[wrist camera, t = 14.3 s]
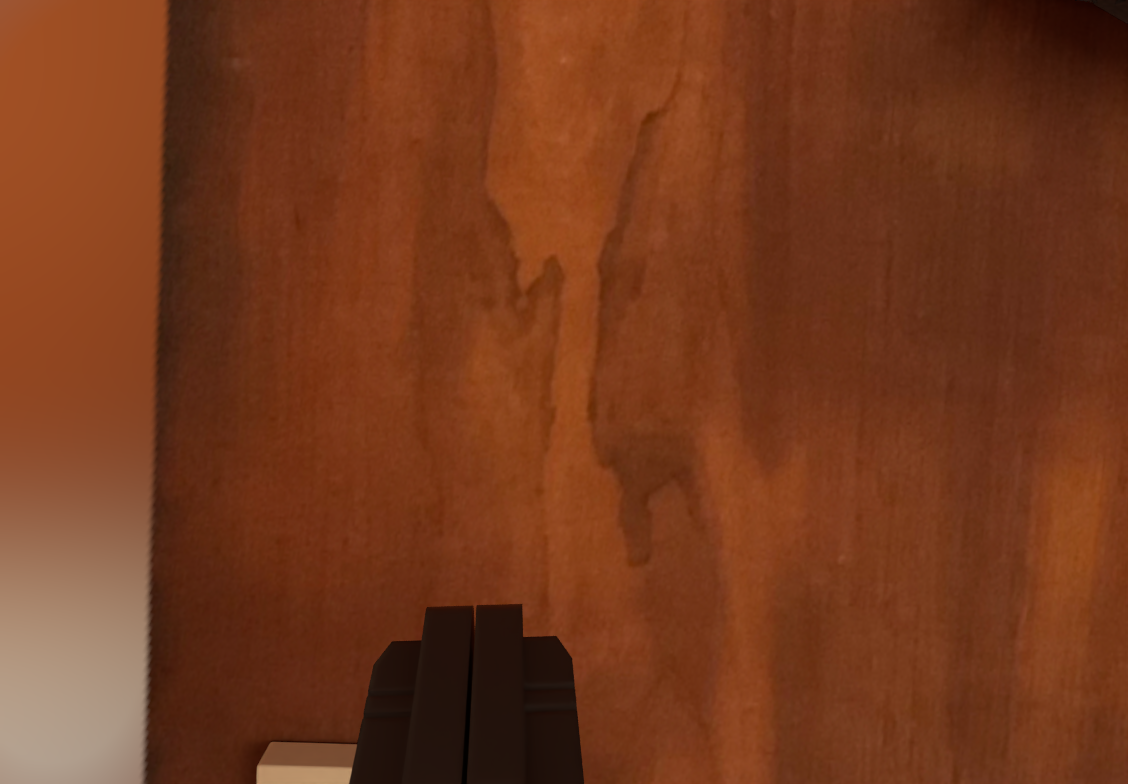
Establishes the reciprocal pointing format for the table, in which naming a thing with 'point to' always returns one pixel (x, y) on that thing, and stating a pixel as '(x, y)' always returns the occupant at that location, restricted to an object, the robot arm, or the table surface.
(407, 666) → the robot arm
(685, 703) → the table surface
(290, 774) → the button box
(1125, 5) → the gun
